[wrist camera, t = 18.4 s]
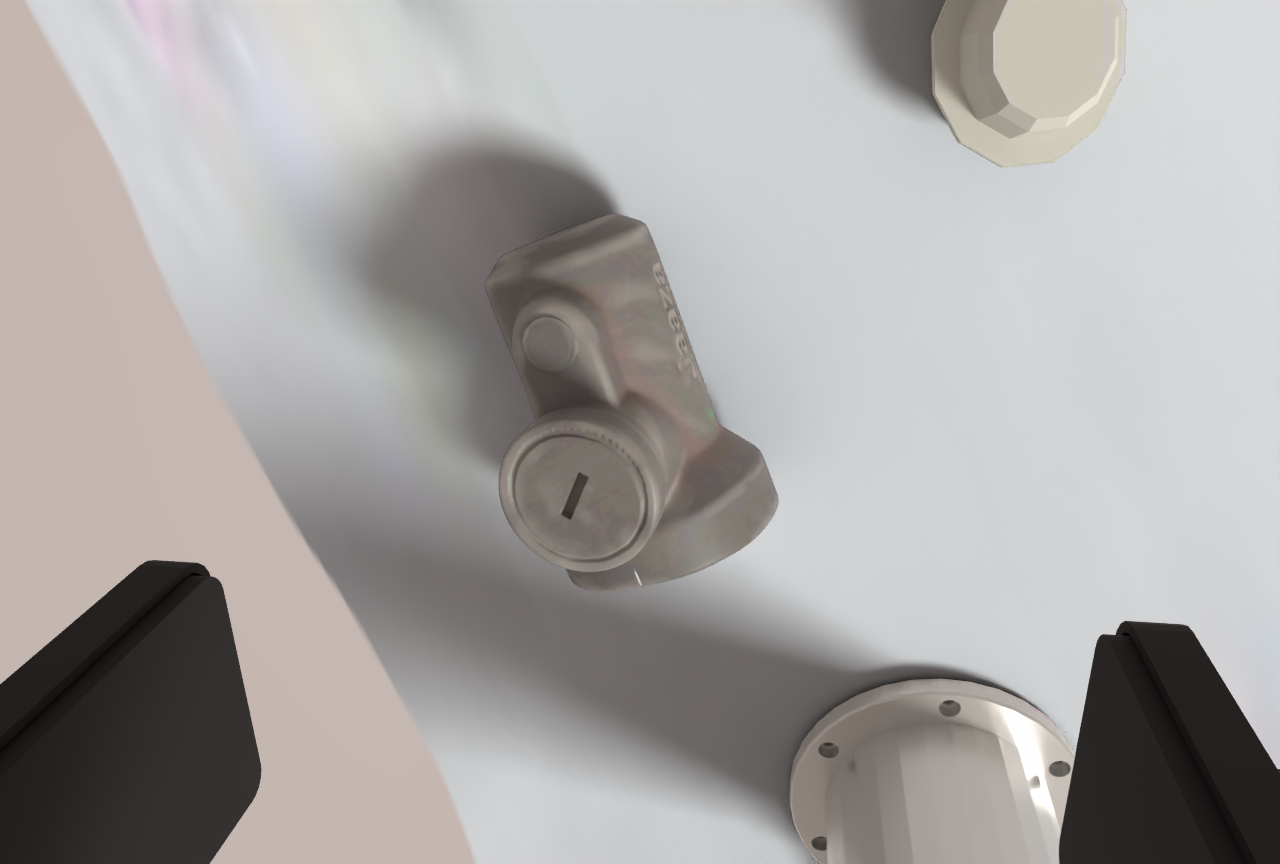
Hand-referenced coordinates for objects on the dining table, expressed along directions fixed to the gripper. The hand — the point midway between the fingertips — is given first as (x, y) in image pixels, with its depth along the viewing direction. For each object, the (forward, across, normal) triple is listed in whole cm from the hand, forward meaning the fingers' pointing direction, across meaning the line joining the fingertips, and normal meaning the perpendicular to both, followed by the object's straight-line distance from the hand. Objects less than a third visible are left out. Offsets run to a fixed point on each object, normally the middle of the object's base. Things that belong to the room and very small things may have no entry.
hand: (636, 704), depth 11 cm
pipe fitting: (+27, +4, +6) cm, 28 cm away
